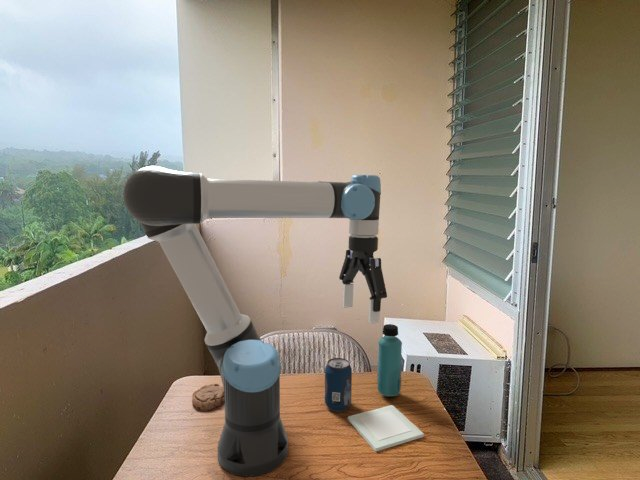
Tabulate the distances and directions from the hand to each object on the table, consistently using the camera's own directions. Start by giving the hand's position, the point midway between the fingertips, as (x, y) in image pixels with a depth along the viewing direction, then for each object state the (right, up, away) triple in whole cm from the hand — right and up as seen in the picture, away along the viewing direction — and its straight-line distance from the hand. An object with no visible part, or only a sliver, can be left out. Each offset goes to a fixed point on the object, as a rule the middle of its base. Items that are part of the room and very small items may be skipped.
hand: (360, 314), depth 109 cm
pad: (+5, -25, -11) cm, 28 cm away
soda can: (-6, -24, -1) cm, 25 cm away
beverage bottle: (+8, -23, +4) cm, 25 cm away
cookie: (-40, -23, +1) cm, 46 cm away
